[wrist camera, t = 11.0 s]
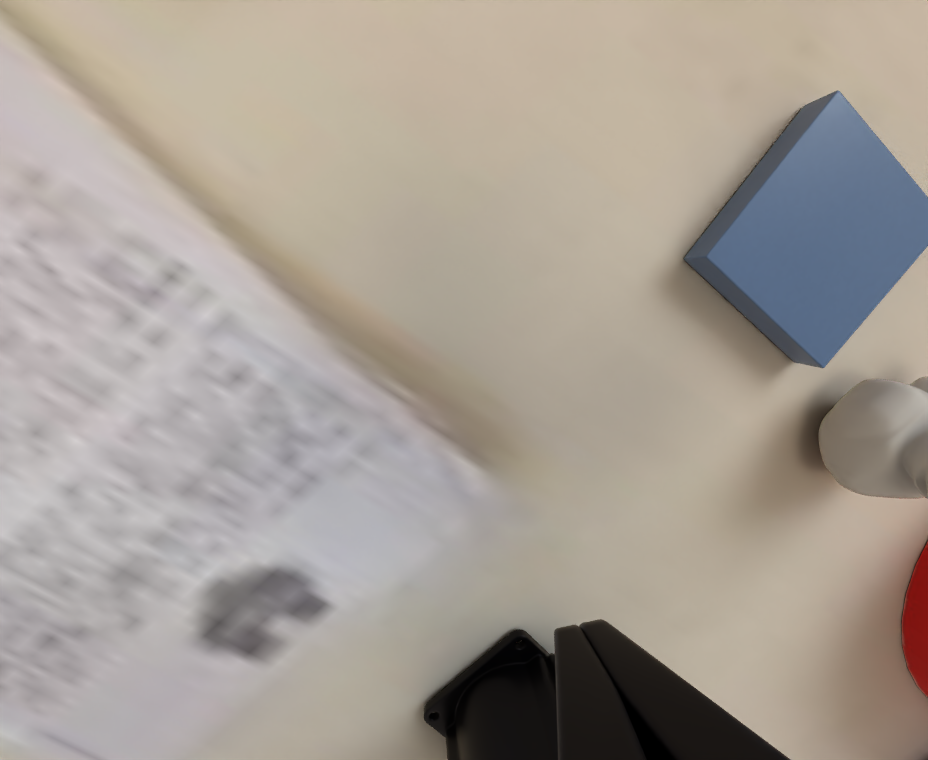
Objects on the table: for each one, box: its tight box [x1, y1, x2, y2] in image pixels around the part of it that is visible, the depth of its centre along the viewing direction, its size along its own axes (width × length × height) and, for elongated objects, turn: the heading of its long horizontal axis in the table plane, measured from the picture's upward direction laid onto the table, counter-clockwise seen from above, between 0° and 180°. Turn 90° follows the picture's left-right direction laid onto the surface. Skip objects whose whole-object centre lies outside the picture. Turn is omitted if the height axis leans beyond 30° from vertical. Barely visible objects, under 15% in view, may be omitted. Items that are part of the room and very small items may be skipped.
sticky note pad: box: [684, 91, 928, 368], centre depth 18 cm, size 8×8×2 cm
